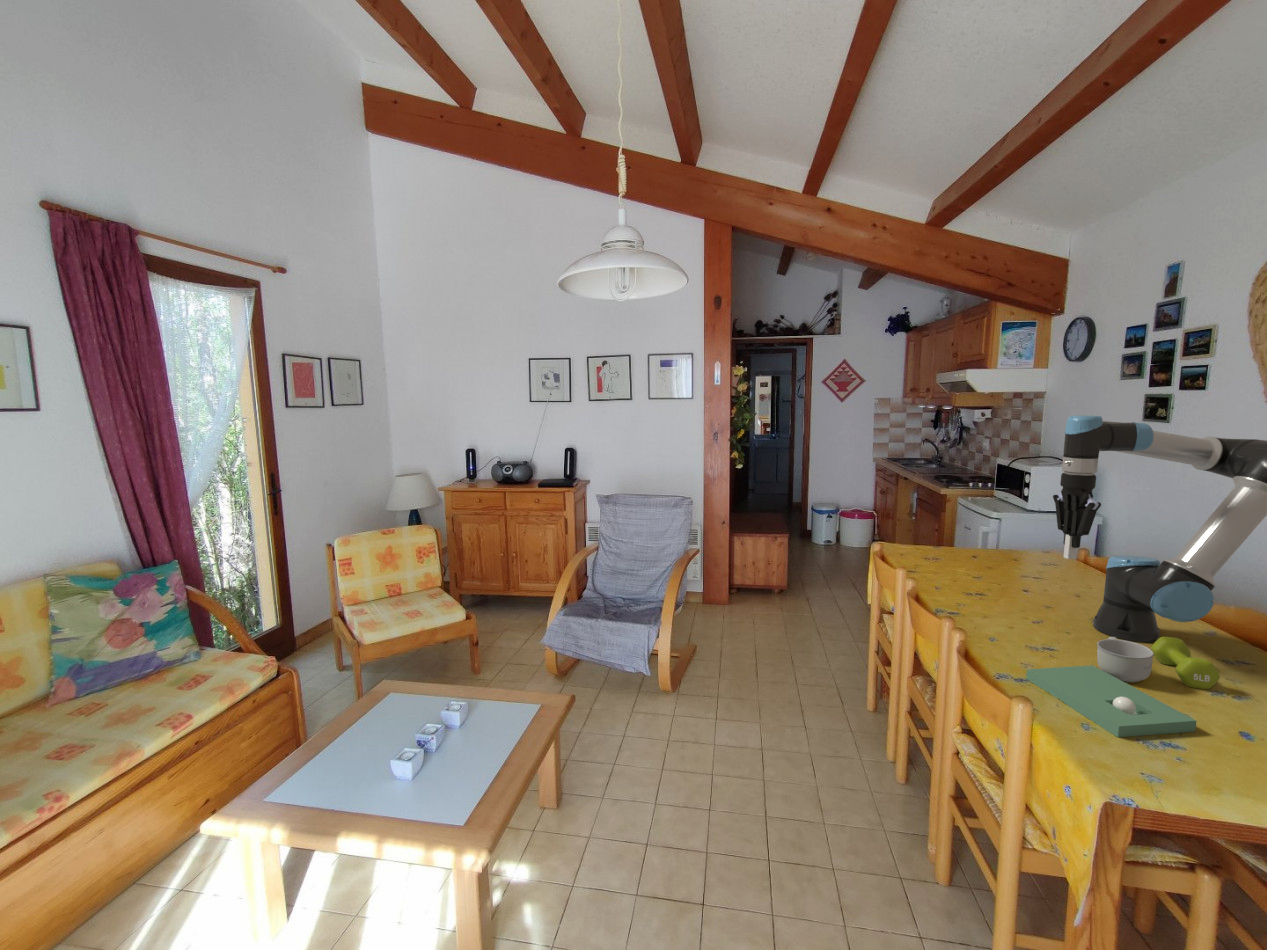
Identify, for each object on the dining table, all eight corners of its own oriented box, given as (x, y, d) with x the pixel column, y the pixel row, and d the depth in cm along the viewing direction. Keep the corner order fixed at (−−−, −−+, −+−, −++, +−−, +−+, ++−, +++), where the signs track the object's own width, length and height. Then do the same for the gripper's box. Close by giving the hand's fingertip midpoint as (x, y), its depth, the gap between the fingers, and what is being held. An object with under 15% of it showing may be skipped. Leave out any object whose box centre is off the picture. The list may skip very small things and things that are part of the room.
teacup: (1154, 691, 138) (1158, 660, 137) (1097, 680, 144) (1100, 650, 143) (1142, 667, 150) (1145, 639, 149) (1089, 658, 156) (1092, 630, 154)
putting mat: (1091, 674, 147) (1092, 665, 146) (1195, 731, 122) (1196, 720, 122) (1026, 678, 145) (1026, 669, 145) (1117, 737, 120) (1118, 726, 120)
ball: (1119, 706, 131) (1128, 693, 129) (1135, 720, 127) (1144, 706, 126) (1104, 705, 130) (1113, 692, 129) (1119, 719, 127) (1128, 706, 125)
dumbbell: (1147, 658, 155) (1150, 633, 154) (1184, 663, 153) (1188, 637, 151) (1178, 687, 140) (1182, 660, 139) (1220, 693, 137) (1225, 665, 136)
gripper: (1046, 470, 160) (1038, 552, 164) (1087, 477, 147) (1078, 565, 151) (1071, 469, 161) (1063, 551, 164) (1113, 476, 148) (1104, 564, 152)
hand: (1070, 557), depth 158 cm, fingers closed
